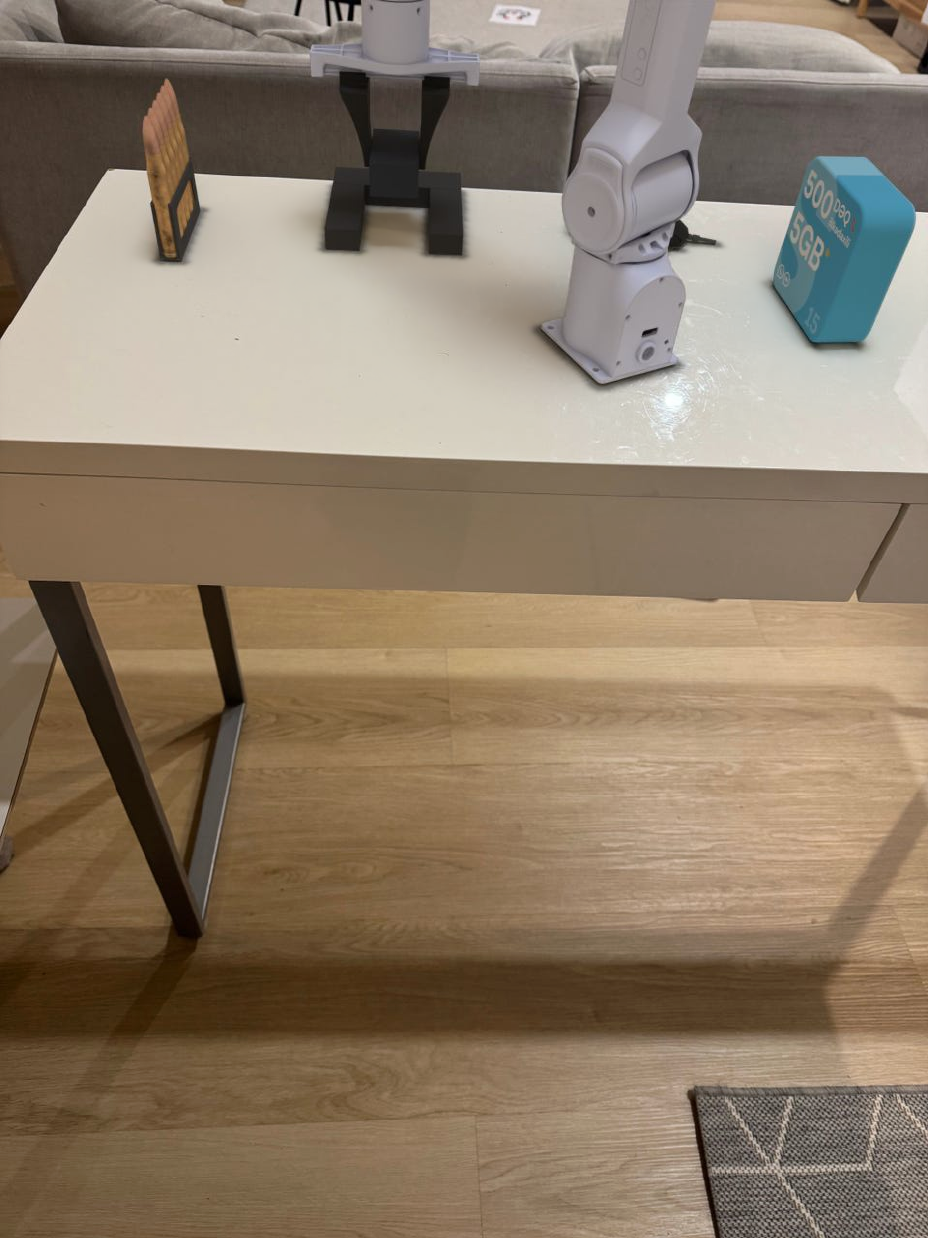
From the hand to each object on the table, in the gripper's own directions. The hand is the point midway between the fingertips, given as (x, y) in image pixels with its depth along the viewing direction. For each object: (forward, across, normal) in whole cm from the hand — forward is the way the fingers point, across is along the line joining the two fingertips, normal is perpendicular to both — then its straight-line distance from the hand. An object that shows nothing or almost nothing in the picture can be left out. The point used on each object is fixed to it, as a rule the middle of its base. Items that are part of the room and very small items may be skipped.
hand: (395, 164), depth 84 cm
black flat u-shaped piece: (+6, 0, -2) cm, 7 cm away
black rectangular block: (+1, 0, 0) cm, 1 cm away
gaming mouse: (+6, -25, -1) cm, 26 cm away
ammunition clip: (+6, +20, +3) cm, 21 cm away
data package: (+6, -39, +13) cm, 41 cm away
